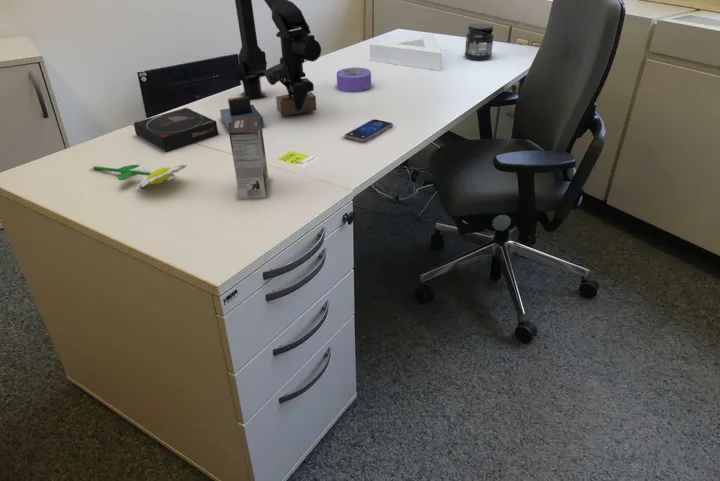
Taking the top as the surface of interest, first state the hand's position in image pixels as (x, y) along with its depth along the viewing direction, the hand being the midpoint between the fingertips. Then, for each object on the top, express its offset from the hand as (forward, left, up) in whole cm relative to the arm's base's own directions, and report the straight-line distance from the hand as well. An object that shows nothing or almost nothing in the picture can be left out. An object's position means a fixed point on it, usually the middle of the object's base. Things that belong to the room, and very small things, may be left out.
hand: (296, 107), depth 168 cm
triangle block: (-39, +56, -2) cm, 68 cm away
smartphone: (+23, +14, -2) cm, 27 cm away
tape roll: (-17, +26, -2) cm, 31 cm away
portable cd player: (+1, -36, -2) cm, 36 cm away
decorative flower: (+27, -49, -2) cm, 56 cm away
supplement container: (-29, +84, -2) cm, 89 cm away
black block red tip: (0, -17, +1) cm, 17 cm away
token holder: (0, 0, -1) cm, 1 cm away
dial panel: (0, -17, -2) cm, 17 cm away
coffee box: (+43, -24, -2) cm, 49 cm away
